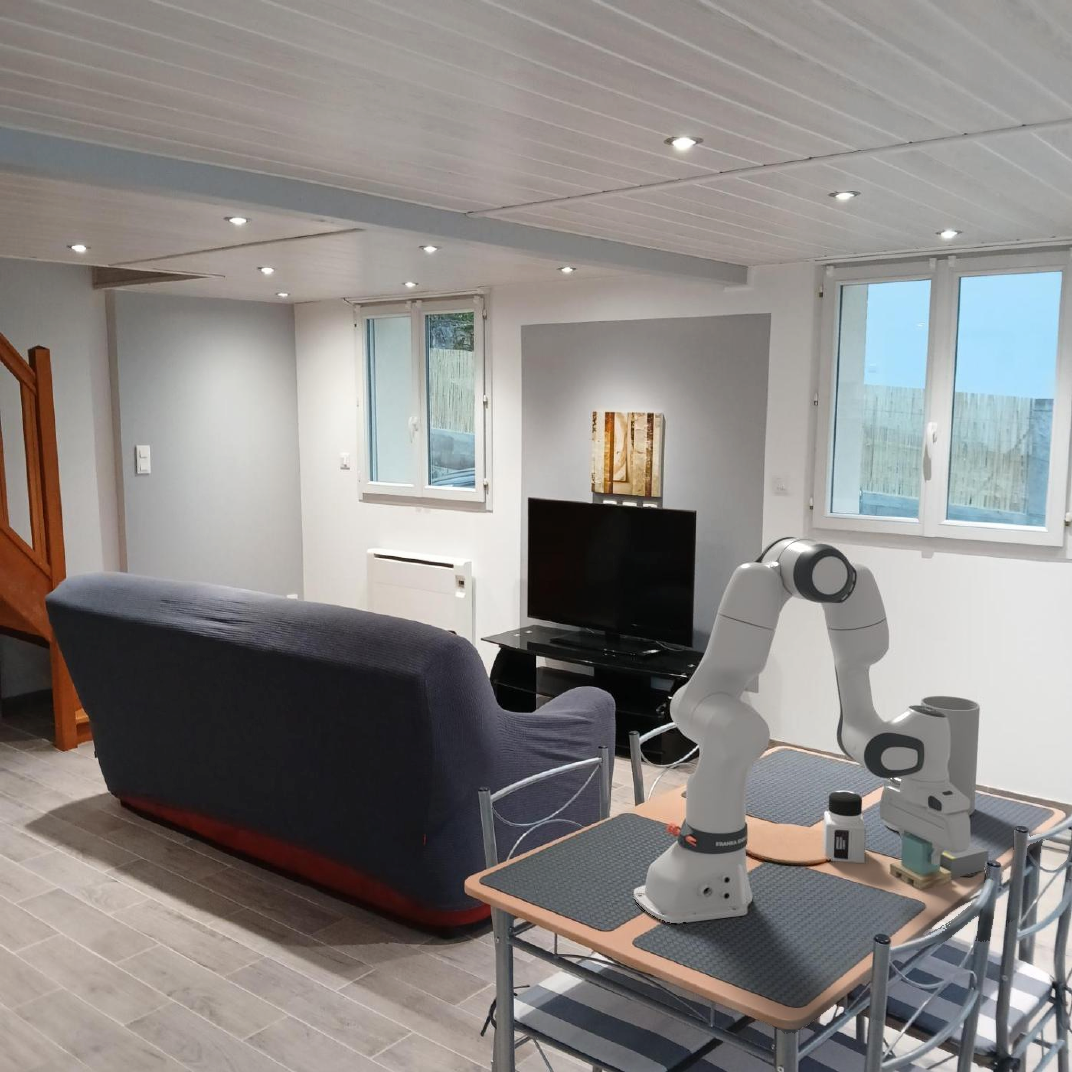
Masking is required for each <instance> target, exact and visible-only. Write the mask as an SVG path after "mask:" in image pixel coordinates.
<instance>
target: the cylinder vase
mask: <svg viewBox="0 0 1072 1072" xmlns="http://www.w3.org/2000/svg"><path fill="white" fill-rule="evenodd" d="M920 706H925V707H929V708H932V709H935V710H937V711H939V712H941V713H942V714H944V715H945V716H946V717H947V719H948V721H949V726H950V758H949V760H948V764H947V767H948V772H949V782H950V783H952V784H953V785H954V787H955V788H957V789H958V790H959V791H960V792H961V793H962V794H963V795H965V796H966V797H967V798H968V799H969V800H970V808H969V809H967V810H965V811H966V812H967V814H968V815H969V816H971V815H972V814H973V813H974V812H975V808H976V807H975V805H976V789H977V787H976V786H977V771H978V770H977V768H978V767H977V766H978V752H979V751H978V749H979V748H978V747H979V745H978V744H979V729H980V727H979V726H980V710H981V709H980V707H981V705H980V704H979V703H977V701H974V700H972V699H967V698H963V697H958V696H949V695H946V696H945V695H932V696H925V697H923V698H921V699H920Z"/></svg>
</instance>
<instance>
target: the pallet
mask: <svg viewBox="0 0 1072 1072" xmlns="http://www.w3.org/2000/svg"><path fill="white" fill-rule="evenodd" d="M901 864H902V860H901V861H897V862H892V863H889V875H892V876H894V877H895V878H899V877H901V881H903V882H905V883H907V884H909V883H913V887H915V888H916V889H918V890H923V889H927V888H931V887H936V886H939V885H943V884H947V883H951V881H952V879H951V872H950V871H948V870H946V869H944V868H942V867H940V871H936V872H932V873H928V874H924V875H919V874H917V873H915V872H913V871H911V870H909V869H908V868H906V867H904V866H902V865H901Z"/></svg>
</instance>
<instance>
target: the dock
mask: <svg viewBox="0 0 1072 1072" xmlns="http://www.w3.org/2000/svg"><path fill="white" fill-rule="evenodd" d="M986 861H988V862H989V849H987V848H984V847H982V846H980V845H977V844H975V843H973V842H971V841H970V844H969V847H968V848H967V849H966V850H965V851H963V852H959V853H952V852H950V851H948V850H944V852H943V853H942V855H941V856H940V867H942V868H944V869H946V870H948V871H950V872H951V880H952V879H956V878H960V877H959V876H961V877H964V875H965V876H967V875H966V874H969V873H973V874H975V873H974V872H977V873H979V872H978V871H981V872H984V867H985V862H986ZM969 875H970V874H969Z"/></svg>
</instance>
